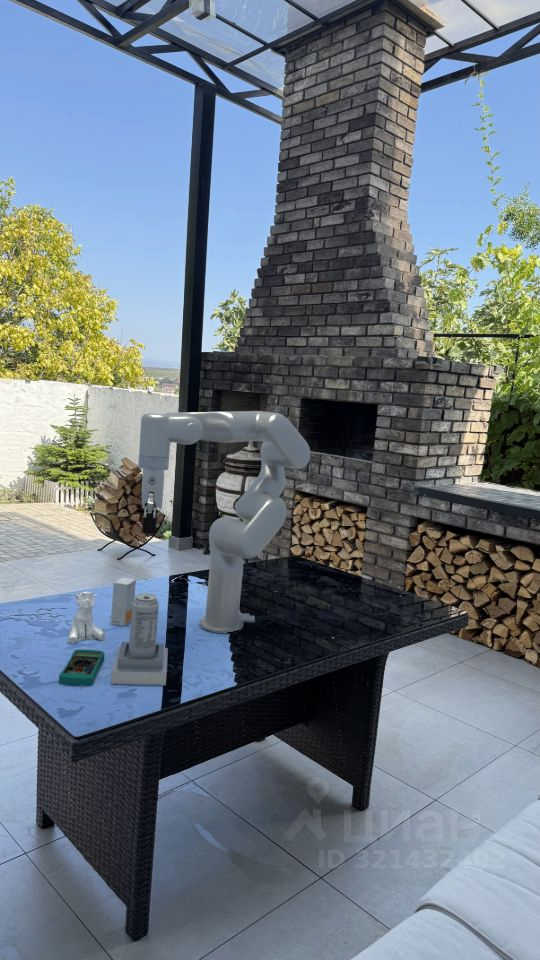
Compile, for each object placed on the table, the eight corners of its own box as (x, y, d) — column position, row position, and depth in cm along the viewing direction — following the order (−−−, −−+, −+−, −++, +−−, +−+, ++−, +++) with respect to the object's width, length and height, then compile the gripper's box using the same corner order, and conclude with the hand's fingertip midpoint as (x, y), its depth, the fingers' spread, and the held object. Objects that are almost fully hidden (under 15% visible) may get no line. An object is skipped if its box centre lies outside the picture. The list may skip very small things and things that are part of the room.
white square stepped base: (166, 659, 155) (168, 640, 155) (165, 685, 142) (167, 664, 141) (117, 658, 154) (118, 638, 153) (110, 684, 140) (112, 662, 139)
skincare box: (124, 626, 175) (127, 584, 173) (110, 624, 175) (113, 582, 174) (133, 619, 180) (136, 579, 179) (119, 617, 181) (122, 576, 180)
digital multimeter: (57, 686, 137) (58, 674, 137) (73, 658, 152) (74, 647, 152) (91, 689, 138) (92, 676, 137) (104, 660, 152) (105, 649, 152)
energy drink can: (152, 653, 151) (157, 592, 149) (156, 663, 146) (161, 600, 144) (127, 653, 149) (131, 592, 147) (129, 664, 144) (134, 601, 142)
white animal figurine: (68, 645, 159) (71, 599, 157) (60, 633, 166) (62, 588, 164) (105, 640, 164) (108, 595, 162) (95, 629, 171) (98, 586, 170)
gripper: (168, 467, 151) (163, 537, 153) (168, 460, 168) (164, 523, 170) (136, 465, 150) (132, 536, 152) (140, 458, 167) (136, 521, 169)
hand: (149, 529), depth 161 cm, fingers open, 9 cm apart
